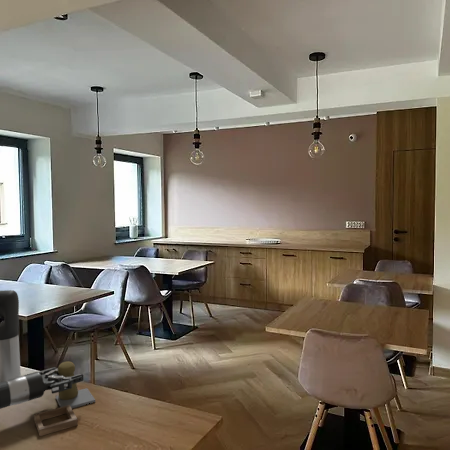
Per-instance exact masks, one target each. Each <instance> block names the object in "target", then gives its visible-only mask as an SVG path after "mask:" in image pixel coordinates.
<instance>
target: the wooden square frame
mask: <svg viewBox="0 0 450 450" xmlns="http://www.w3.org/2000/svg"><path fill="white" fill-rule="evenodd" d="M62 415H67V418H68V419H65V420H61V421H58V422H54V423H51V424H47V425H45V426H44V424H43V422H42V421H44V420H48V419H51V418H55V417H59V416H62ZM33 420H34V424H35V426H36V428H37V432H38V435H39V437H42V436H45V435H48V434H51V433H52V434H53V433H55V432H59V431H63V430H65V429H69V428H73V427H76V426H79V425H78V421H79V420H78V417H77V416H76V414H75V412H74V410H73V408H71V407H70V405H67V406H64V407H60V406H59V407H57V408H53V409H52V408H51V409H49V410H45V411H40V412H37V413H35V414H33Z"/></svg>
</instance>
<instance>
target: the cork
mask: <svg viewBox="0 0 450 450" xmlns="http://www.w3.org/2000/svg"><path fill="white" fill-rule="evenodd" d="M57 368H58V373H59V375H60V376H64V377H71V376H75V370H76V365H75V364H74V363H73V362H72V361H63V362H61V363H60V364H59V365H58V367H57ZM64 381H66V380H64ZM60 382H61V380H60ZM66 387H67V386H66ZM78 390H79V389H78V385H77V383H75V384H72V388H71V389H68V390H64V391H61V392H58V395H59V398H60V399H62V400H69V399H72V398H74V397H76V396H77V395H78Z"/></svg>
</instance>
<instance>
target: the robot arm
mask: <svg viewBox="0 0 450 450" xmlns="http://www.w3.org/2000/svg"><path fill="white" fill-rule="evenodd" d="M19 303H20V300H19V295H18V293H17V292H16V291H15V290H12V289H10V290H9V289H7V290H0V319H1V318H4V320H3V323H1V324H0V409H1V410H2V409H5V408H7V407H10V406H12V407H13V406H16V405H20V404H23V403H27V402H29V401H33V400H36V399H39V398H42V397H43V396H44V394H45V392H46V391H50V390H51V394H53V395H54V394H57V393H59V392H61V391H64V390H68V389H71V388H72V384H75V383H76V384H77V383H80V382H83V381H84V374H83V373H79V374H78V373H77V374H74V376H71V377H64V376H60V375H59V373H58V367H55V366H54V367H51V368H50V367H49V368H47V369H43V370H39V371H34V372H31V373H27V374H23V375H21V355H20V341H19V326H20V325H19V324H20V323H19V322H20V320H19V317H20V316H19V315H20V313H19V308H20V306H19V305H20V304H19ZM60 380H61V382H60ZM64 380H66V381H64ZM66 386H67V387H66Z"/></svg>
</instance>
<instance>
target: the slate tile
mask: <svg viewBox="0 0 450 450" xmlns="http://www.w3.org/2000/svg"><path fill="white" fill-rule="evenodd" d="M55 399H56V401H57V402H56V403H58V405H59V408H60V407H64V406H67V405H70V407H71V408H72V409H77V408H79V407H82V406H86V404H87V405H90V404H94V403H96V399H95V397H94V395H92V393H91V391H90V390H89V388H88V387H86V388H82V389H78V395H77V396H76V397H74V398H72V399H69V400H62V399H60V398H59V394H58V395H55ZM93 402H94V403H93ZM89 403H90V404H89Z"/></svg>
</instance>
